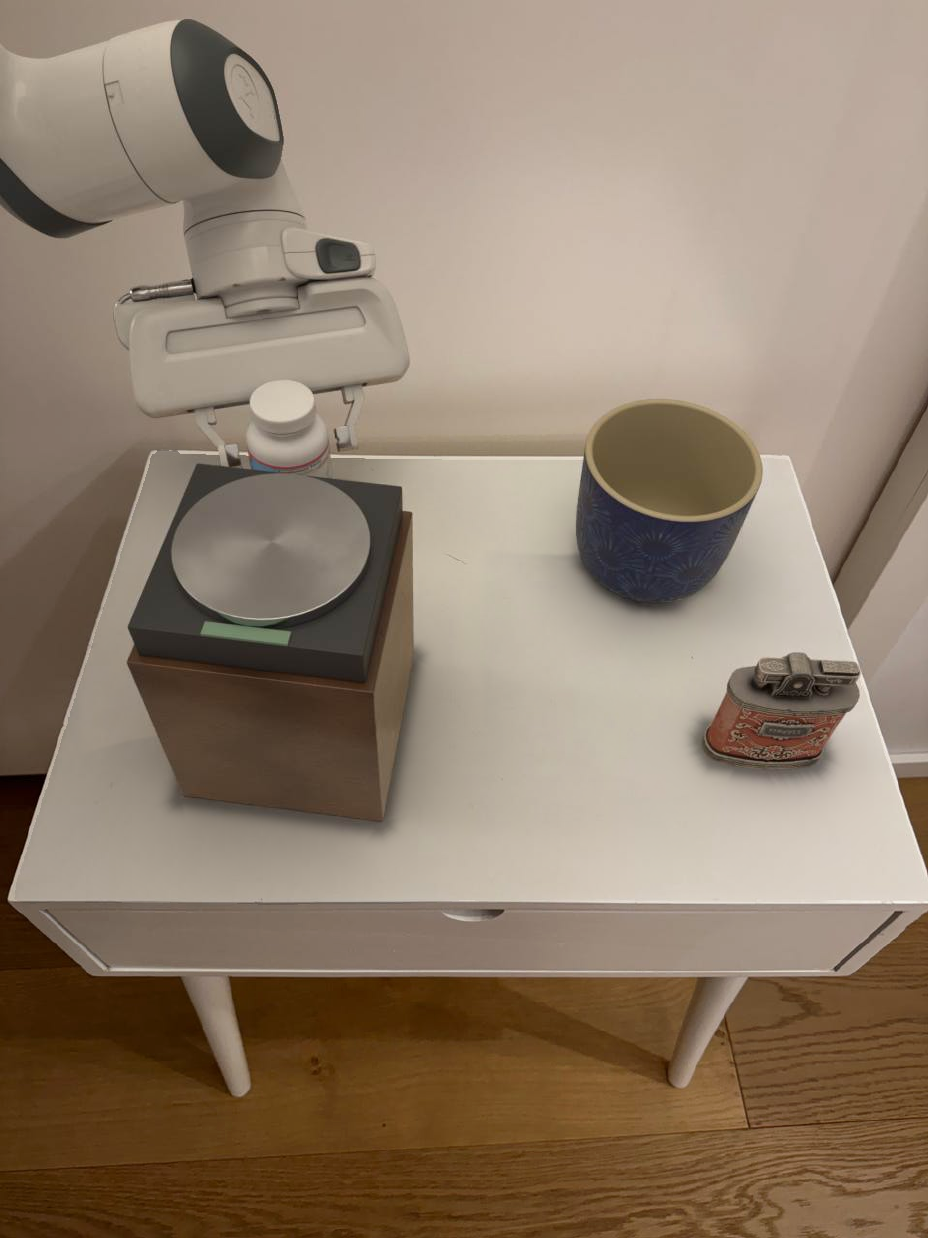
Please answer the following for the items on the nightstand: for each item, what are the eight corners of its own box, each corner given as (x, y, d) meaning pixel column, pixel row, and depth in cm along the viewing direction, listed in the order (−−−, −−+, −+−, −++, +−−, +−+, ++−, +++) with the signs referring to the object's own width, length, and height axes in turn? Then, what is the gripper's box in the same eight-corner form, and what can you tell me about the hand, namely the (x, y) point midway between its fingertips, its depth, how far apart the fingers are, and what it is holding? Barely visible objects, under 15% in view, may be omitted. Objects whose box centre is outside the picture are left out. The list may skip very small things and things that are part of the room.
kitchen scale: (138, 655, 50) (122, 617, 47) (204, 493, 57) (193, 452, 54) (365, 683, 49) (362, 646, 46) (403, 516, 56) (402, 475, 54)
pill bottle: (253, 490, 78) (231, 379, 69) (326, 476, 79) (314, 366, 70) (266, 543, 75) (245, 434, 66) (343, 528, 76) (333, 419, 67)
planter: (736, 526, 78) (775, 422, 69) (706, 641, 70) (747, 541, 62) (589, 485, 80) (610, 380, 71) (546, 592, 73) (563, 490, 64)
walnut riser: (182, 796, 61) (125, 662, 49) (236, 635, 69) (198, 486, 57) (382, 822, 61) (373, 693, 49) (413, 656, 69) (412, 511, 57)
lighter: (704, 766, 64) (744, 684, 56) (698, 723, 66) (736, 637, 58) (824, 772, 64) (881, 690, 56) (814, 728, 66) (868, 643, 58)
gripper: (100, 279, 65) (145, 482, 67) (394, 243, 69) (427, 435, 71) (113, 299, 71) (153, 484, 73) (382, 264, 75) (413, 441, 77)
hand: (291, 460), depth 72 cm, fingers open, 7 cm apart
